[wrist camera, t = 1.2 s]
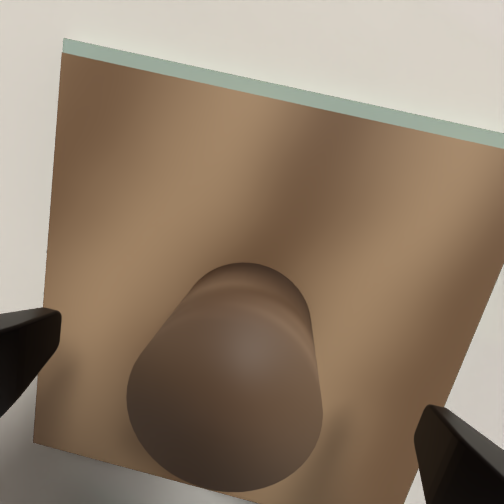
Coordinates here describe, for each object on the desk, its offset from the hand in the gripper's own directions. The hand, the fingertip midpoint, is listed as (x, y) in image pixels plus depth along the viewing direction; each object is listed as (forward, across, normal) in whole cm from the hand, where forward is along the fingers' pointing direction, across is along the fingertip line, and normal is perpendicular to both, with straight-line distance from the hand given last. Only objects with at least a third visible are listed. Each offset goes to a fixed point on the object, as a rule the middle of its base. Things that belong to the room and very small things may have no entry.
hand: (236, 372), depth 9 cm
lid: (+3, 0, 0) cm, 3 cm away
